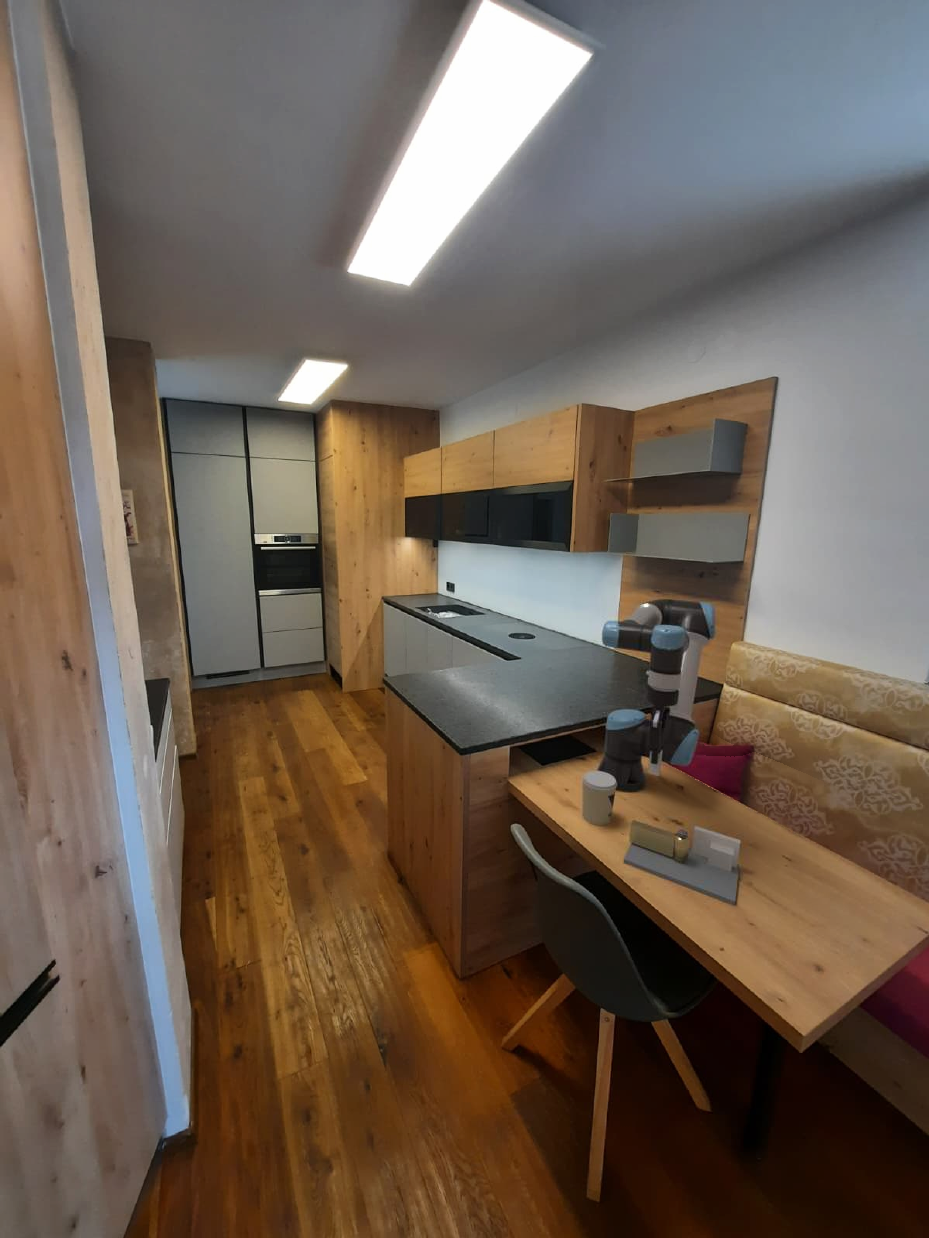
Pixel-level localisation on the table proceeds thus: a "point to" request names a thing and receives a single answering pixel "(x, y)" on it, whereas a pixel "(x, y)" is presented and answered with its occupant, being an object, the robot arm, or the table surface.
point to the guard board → (696, 864)
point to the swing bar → (660, 840)
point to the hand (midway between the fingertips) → (653, 773)
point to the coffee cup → (598, 797)
